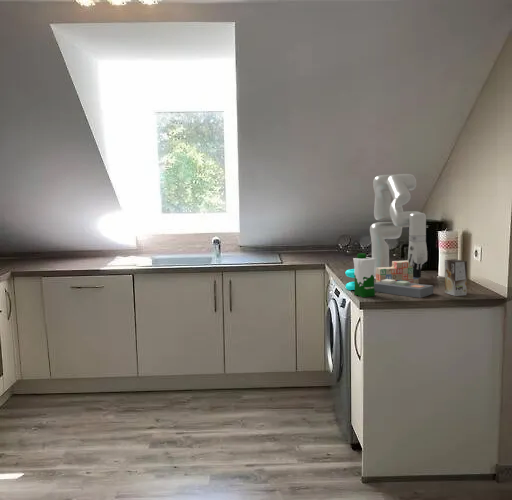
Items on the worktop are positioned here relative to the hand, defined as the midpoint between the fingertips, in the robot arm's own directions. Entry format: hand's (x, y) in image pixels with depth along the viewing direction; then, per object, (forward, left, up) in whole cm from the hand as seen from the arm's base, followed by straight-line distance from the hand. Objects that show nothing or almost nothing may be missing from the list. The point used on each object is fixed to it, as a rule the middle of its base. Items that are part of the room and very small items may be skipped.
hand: (416, 277), depth 253 cm
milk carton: (-18, -17, -9) cm, 26 cm away
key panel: (-8, 0, -8) cm, 11 cm away
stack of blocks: (-22, +17, -9) cm, 29 cm away
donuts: (-30, -7, -9) cm, 32 cm away
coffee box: (+13, +12, -9) cm, 20 cm away
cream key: (-16, 0, -6) cm, 17 cm away
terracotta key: (0, 0, -7) cm, 7 cm away
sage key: (-8, 0, -6) cm, 10 cm away
